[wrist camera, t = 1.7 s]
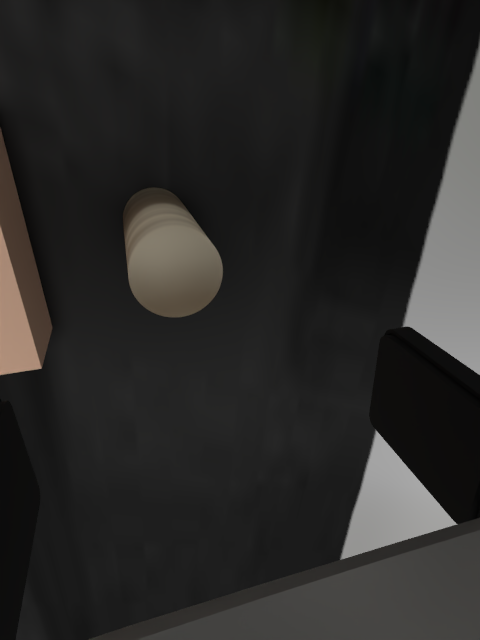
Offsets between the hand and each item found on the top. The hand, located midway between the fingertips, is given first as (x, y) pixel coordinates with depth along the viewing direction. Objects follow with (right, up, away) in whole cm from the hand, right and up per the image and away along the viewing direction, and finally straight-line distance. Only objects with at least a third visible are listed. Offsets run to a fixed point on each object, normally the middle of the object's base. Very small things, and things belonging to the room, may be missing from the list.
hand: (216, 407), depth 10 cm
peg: (-5, +8, +16) cm, 19 cm away
